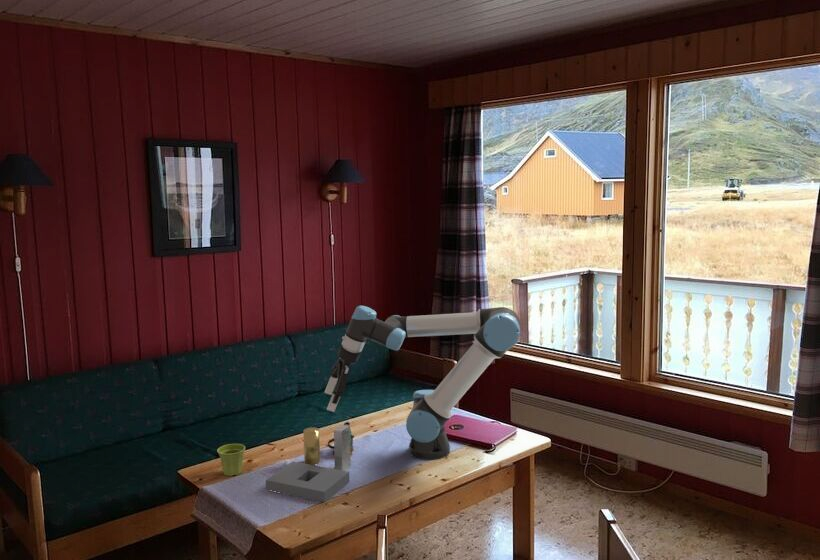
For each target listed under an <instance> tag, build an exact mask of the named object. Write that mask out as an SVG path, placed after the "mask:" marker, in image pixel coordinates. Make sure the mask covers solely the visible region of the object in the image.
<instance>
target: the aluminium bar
mask: <svg viewBox="0 0 820 560" xmlns="http://www.w3.org/2000/svg"><path fill="white" fill-rule="evenodd" d="M350 429H351V426H348V425H344V424H341V425H339V426H338V427H337V428H335V429H333V438H334V441H333V446H334V449H333V451H334V454H333V456H334V469H336V470H342V471H345V470H346V469H347V470H348V468H349V467H350V466H351V467H352V464H351V463H352V459H351V458H352V457H351V456H352V455H351V453H350ZM351 467H350V468H351ZM350 468H349V469H350ZM347 470H346V471H347Z"/></svg>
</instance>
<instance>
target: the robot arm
mask: <svg viewBox="0 0 820 560" xmlns="http://www.w3.org/2000/svg"><path fill="white" fill-rule="evenodd" d="M520 323H521V322H520V319H519V316H518V315H517V314H516V312H515V311H514V310H512V309H511V308H508V307H504V306H498V307H490V308H479V309H478V310H477V311H475V312H474V311H473V312H457V313H440V314H426V315H424V314H422V315H409V316H408V315H407V316H400V315H398V314H394V315H391V316H388V318H386V320H385V321H383V320H380V319H379V318H377V312H376V311H375V309H372V308H371V307H368V306H365V305H358V306H356V308H355V310H354V312H353V313H352V316H351V317H350V321H349V323H348V325H347V329H346V331H345V334H344V336H342V337H341V339H342V342H341V345H340V346H339V349H338V351H337V354H336V355H337V357H338V359H337V360H336V362H335V364H334V365H333V367H332V369H331V370H330V371H331V374H330V378H329V379H328V383H327V385H326V388H325V390H324V394H327V395H331V397H330V399H329V403H328V405H327V408H326V411H330V412H332V413H335V411H336V408H337V406H338V404H339V401H340V399H341V397H344V393H345V390H346V385H347V383H348V379H349V376H350V373H351V371H352V368H351V364H356V363H357V362H358V360H359V358H360V356H361V352H362V351H363V349H364V346H365V344H366V342H367V340H371V341H372V342H374V343H377V344H379V345H381V346H383V347H386V348H387V349H390V350H392V351H399V350H400V348H401V346H402V345H403V342H404V340H405V338H414V337H434V336H435V337H436V336H455V335H472V334H474V336H473V337H474V342H473V344H472V345H471V346H470V347H469V349H468V350H466V352H465V353H464V354H463V356H462V357H461V358H460V359H459V360H458V362H457V363H456V364H455V365H454V366H453V368H452V369H451V370H450V371H449V373H447V375H446V376H445V377H444V378H443V379H442V381H441V382H440V383H439V384H438V386H437V387H436V388H435V389H420V390H419V389H418V390H416V391H414V392H413V394H412V395H413V397H412V400H413V401H412V404H413V405H412V408H411V410H410V411H409V415H407V418H406V424H405V426H406V431H407V433H408V435H409V436H410V437H411V438H410V441H409V445H408V450H409V451H408V453H409V454H410V455H411V456H412V457H414V458H417V459H421V460H437V459H442V458H445V457H447V456H448V455H450V453H451V446H450V442H449V440H448V437H447V433H446V424H447V422H448V421H449V420H450V418H451V417H452V412H451V410H452V409H453V408H454V407H455V406H456V405H457V403H458V402H459V401H460V400H461V399H462V398H463V396H464V395H465V394H466V393H467V391H469V390H470V388H471V387H472V386H473V385H474V383H476V381H477V380H478V379H479V378H480V377H481V375H482V374H483V373H484V372H485V370H486V369H487V368H488V367H489V366H490V365H491V363H492V362H493V361H494V360H495V359H501V358H502V357H504V355H505V354H506V353H507V351H508V350H510V349H512V348H514V346H515V345H516V344H517V343H518V341H519V339H520V336H521V326H520V325H521V324H520Z"/></svg>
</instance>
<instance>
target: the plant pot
mask: <svg viewBox="0 0 820 560" xmlns="http://www.w3.org/2000/svg"><path fill="white" fill-rule="evenodd" d="M245 450H246V446H245V445H244V444H241V443H228V444H224V445H222V446H220V447H218V448H217V451H216V453H218V455H219V457H220V462H221V466H222V467H221V468H222V473H223V474H224V475H225V476H227V477H231V476H234V475H235V476H237V475H239V474H241V473H242V471H243V461H244V453H245Z"/></svg>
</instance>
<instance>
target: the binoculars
mask: <svg viewBox="0 0 820 560" xmlns="http://www.w3.org/2000/svg"><path fill="white" fill-rule="evenodd" d="M343 425H348V426H350V425H351V424H350V422H348V421H347V422H344V423H343ZM350 427H351V426H350ZM353 438H355V436H354V434H353V433H352V429H351V428H350V453H351V456H353V451H354V450H355V448H354V445H353V444H354V442H353V441H354V439H353ZM332 442H333V443H334V437H333V438H331V439H329V440H328V441H327V447H328V448H329V449H331V450H333V451H332V454H333V455H334V445H331V443H332Z"/></svg>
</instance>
